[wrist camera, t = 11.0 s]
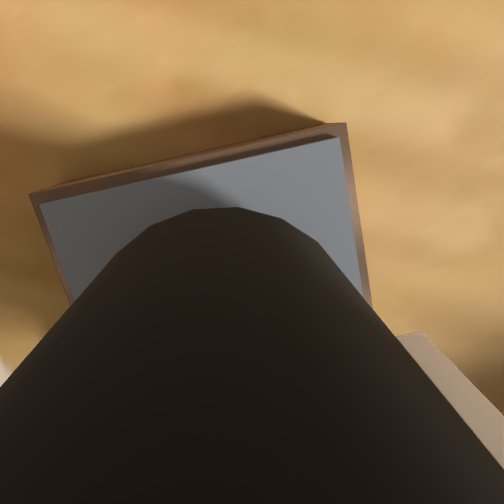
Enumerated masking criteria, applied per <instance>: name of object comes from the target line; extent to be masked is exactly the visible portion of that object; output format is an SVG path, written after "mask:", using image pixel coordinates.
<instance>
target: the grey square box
mask: <svg viewBox="0 0 504 504" xmlns="http://www.w3.org/2000/svg"><path fill="white" fill-rule="evenodd" d="M29 196H30V199H31V202H32V204H33V207H34V210H35V212H36V215H37V218H38V220H39V223H40V226H41V228H42V231H43V234H44V236H45V239H46V242H47V244H48V247H49V250H50V252H51V255H52V258H53V260H54V263H55V266H56V268H57V271H58V274H59V276H60V279H61V282H62V284H63V287H64V290H65V292H66V295H67V298H68V300H69V303H70V306H71V305H72V304H73V303H74V302H75V300H76V299H77V298H78V297H79V296H80V295H81V294H82V292H83V291H84V290H85V289H86V288H87V287H88V285H89V284H90V283H91V282H92V281H93V280H94V279H95V277H96V276H97V275H98V274H99V273H100V272H101V270H102V269H103V268H104V267H105V266H106V265H107V264H108V262H109V261H110V260H111V259H112V258H113V257H114V255H115V254H116V253H117V252H119V251H120V250H121V249H122V248H123V247H125V246H126V245H127V244H128V243H130V242H131V241H132V240H133V239H134V238H136V237H137V236H138V235H139V234H140V233H142V232H143V231H144V230H145V229H146V228H148V227H149V226H150V225H153V224H156V223H158V222H161V221H163V220H166V219H169V218H171V217H174V216H176V215H179V214H182V213H184V212H187V211H190V210H192V209H209V208H228V207H240V208H244V209H248V210H252V211H256V212H259V213H263V214H267V215H271V216H275V217H279V218H282V219H284V220H285V221H287V222H288V223H290V224H291V225H293V226H294V227H296V228H297V229H299V230H300V231H302V232H304V233H305V234H307V235H308V236H310V237H311V238H313V239H314V240H316V241H317V242H318V243H319V244H320V245H321V246H322V247H323V249H324V250H325V251H326V252H327V254H328V255H329V256H330V257H331V259H332V260H333V261H334V262H335V263H336V265H337V266H338V267H339V268H340V270H341V271H342V272H343V273H344V275H345V276H346V277H347V278H348V279H349V281H350V282H351V283H352V284H353V286H354V287H355V288H356V289H357V290H358V292H359V293H360V294H361V295H362V297H363V298H364V299H365V300H366V302H367V303H368V304H369V305H370V306H371V308H372V309H373V307H372V300H371V293H370V286H369V279H368V272H367V265H366V258H365V251H364V244H363V237H362V230H361V223H360V216H359V209H358V202H357V195H356V188H355V181H354V174H353V167H352V160H351V153H350V146H349V139H348V132H347V125H346V123H326V124H322V125H318V126H313V127H309V128H304V129H300V130H295V131H291V132H287V133H282V134H278V135H273V136H269V137H265V138H260V139H256V140H251V141H247V142H242V143H238V144H234V145H229V146H225V147H220V148H216V149H211V150H207V151H203V152H198V153H194V154H189V155H185V156H180V157H176V158H172V159H167V160H163V161H158V162H154V163H150V164H145V165H141V166H136V167H132V168H127V169H123V170H119V171H114V172H110V173H105V174H101V175H96V176H92V177H88V178H83V179H79V180H74V181H70V182H66V183H61V184H58V185H55V186H52V187H49V188H46V189H43V190H40V191H37V192H34V193H31V194H29Z"/></svg>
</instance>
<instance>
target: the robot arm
mask: <svg viewBox="0 0 504 504" xmlns="http://www.w3.org/2000/svg"><path fill="white" fill-rule="evenodd" d="M396 338H397V340H398V341H399V342H400V343H401V345H402V346H403V347H404V348H405V349H406V351H407V352H408V353H409V354H410V356H411V357H412V358H413V359H414V361H415V362H416V363H417V364H418V365H419V367H420V368H421V369H422V370H423V372H424V373H425V374H426V375H427V377H428V378H429V379H430V380H431V381H432V383H433V384H434V385H435V386H436V388H437V389H438V390H439V391H440V392H441V394H442V395H443V396H444V397H445V399H446V400H447V401H448V402H449V404H450V405H451V406H452V407H453V408H454V410H455V411H456V412H457V413H458V415H459V416H460V417H461V418H462V420H463V421H464V422H465V423H466V424H467V426H468V427H469V428H470V429H471V431H472V432H473V433H474V434H475V435H476V437H477V438H478V439H479V440H480V442H481V443H482V444H483V445H484V447H485V448H486V449H487V450H488V451H489V453H490V454H491V455H492V456H493V458H494V459H495V460H496V461H497V463H498V464H499V465H500V466H501V467H502V469H503V470H504V416H503V415H502V414H501V413H500V412H499V411H498V409H497V408H496V407H495V406H494V405H493V404H492V403H491V402H490V401H489V400H488V399H487V398H486V397H485V396H484V395H483V394H482V393H481V392H480V391H479V390H478V389H477V388H476V387H475V386H474V385H473V384H472V383H471V381H470V380H469V379H468V378H467V377H466V376H465V375H464V374H463V373H462V372H461V371H460V370H459V369H458V368H457V367H456V366H455V365H454V364H453V363H452V362H451V361H450V360H449V359H448V358H447V357H446V356H445V355H444V353H443V352H442V351H441V350H440V349H439V348H438V347H437V346H436V345H435V344H434V343H433V342H432V341H431V340H430V339H429V338H428V337H427V336H426V335H425V334H424V333H423V332H422V331H419V332H415V333H410V334H406V335H402V336H397V337H396Z"/></svg>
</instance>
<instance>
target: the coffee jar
mask: <svg viewBox="0 0 504 504" xmlns="http://www.w3.org/2000/svg"><path fill="white" fill-rule="evenodd" d="M0 504H504V470H503V469H502V467H501V466H500V465H499V464H498V463H497V461H496V460H495V459H494V458H493V456H492V455H491V454H490V453H489V451H488V450H487V449H486V448H485V447H484V445H483V444H482V443H481V442H480V440H479V439H478V438H477V437H476V435H475V434H474V433H473V432H472V431H471V429H470V428H469V427H468V426H467V424H466V423H465V422H464V421H463V420H462V418H461V417H460V416H459V415H458V413H457V412H456V411H455V410H454V408H453V407H452V406H451V405H450V404H449V402H448V401H447V400H446V399H445V397H444V396H443V395H442V394H441V392H440V391H439V390H438V389H437V388H436V386H435V385H434V384H433V383H432V381H431V380H430V379H429V378H428V377H427V375H426V374H425V373H424V372H423V370H422V369H421V368H420V367H419V365H418V364H417V363H416V362H415V361H414V359H413V358H412V357H411V356H410V354H409V353H408V352H407V351H406V349H405V348H404V347H403V346H402V345H401V343H400V342H399V341H398V340H397V338H396V337H395V336H394V335H393V334H392V332H391V331H390V330H389V329H388V327H387V326H386V325H385V324H384V322H383V321H382V320H381V319H380V318H379V316H378V315H377V314H376V313H375V311H374V310H373V309H372V308H371V306H370V305H369V304H368V303H367V302H366V300H365V299H364V298H363V297H362V295H361V294H360V293H359V292H358V290H357V289H356V288H355V287H354V286H353V284H352V283H351V282H350V281H349V279H348V278H347V277H346V276H345V275H344V273H343V272H342V271H341V270H340V268H339V267H338V266H337V265H336V263H335V262H334V261H333V260H332V259H331V257H330V256H329V255H328V254H327V252H326V251H325V250H324V249H323V247H322V246H321V245H320V244H319V243H318V242H317V241H316V240H314V239H313V238H311V237H310V236H308V235H307V234H305V233H304V232H302V231H300V230H299V229H297V228H296V227H294V226H293V225H291V224H290V223H288V222H287V221H285V220H284V219H282V218H279V217H275V216H271V215H267V214H263V213H259V212H256V211H252V210H248V209H244V208H240V207H228V208H209V209H192V210H190V211H187V212H184V213H182V214H179V215H176V216H174V217H171V218H169V219H166V220H163V221H161V222H158V223H156V224H153V225H150V226H149V227H148V228H146V229H145V230H144V231H143V232H142V233H140V234H139V235H138V236H137V237H136V238H134V239H133V240H132V241H131V242H130V243H128V244H127V245H126V246H125V247H123V248H122V249H121V250H120V251H119V252H117V253H116V254H115V255H114V257H113V258H112V259H111V260H110V261H109V262H108V264H107V265H106V266H105V267H104V268H103V269H102V270H101V272H100V273H99V274H98V275H97V276H96V277H95V279H94V280H93V281H92V282H91V283H90V284H89V285H88V287H87V288H86V289H85V290H84V291H83V292H82V294H81V295H80V296H79V297H78V298H77V299H76V300H75V302H74V303H73V304H72V305H71V306H70V307H69V309H68V310H67V311H66V312H65V313H64V314H63V315H62V317H61V318H60V319H59V320H58V321H57V322H56V324H55V325H54V326H53V327H52V328H51V329H50V330H49V332H48V333H47V334H46V335H45V336H44V337H43V339H42V340H41V341H40V342H39V343H38V344H37V345H36V347H35V348H34V349H33V350H32V351H31V352H30V354H29V355H28V356H27V357H26V358H25V359H24V360H23V362H22V363H21V364H20V365H19V366H18V367H17V369H16V370H15V371H14V372H13V373H12V374H11V375H10V377H9V378H8V379H7V380H6V382H4V384H3V385H2V386H1V387H0Z"/></svg>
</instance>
